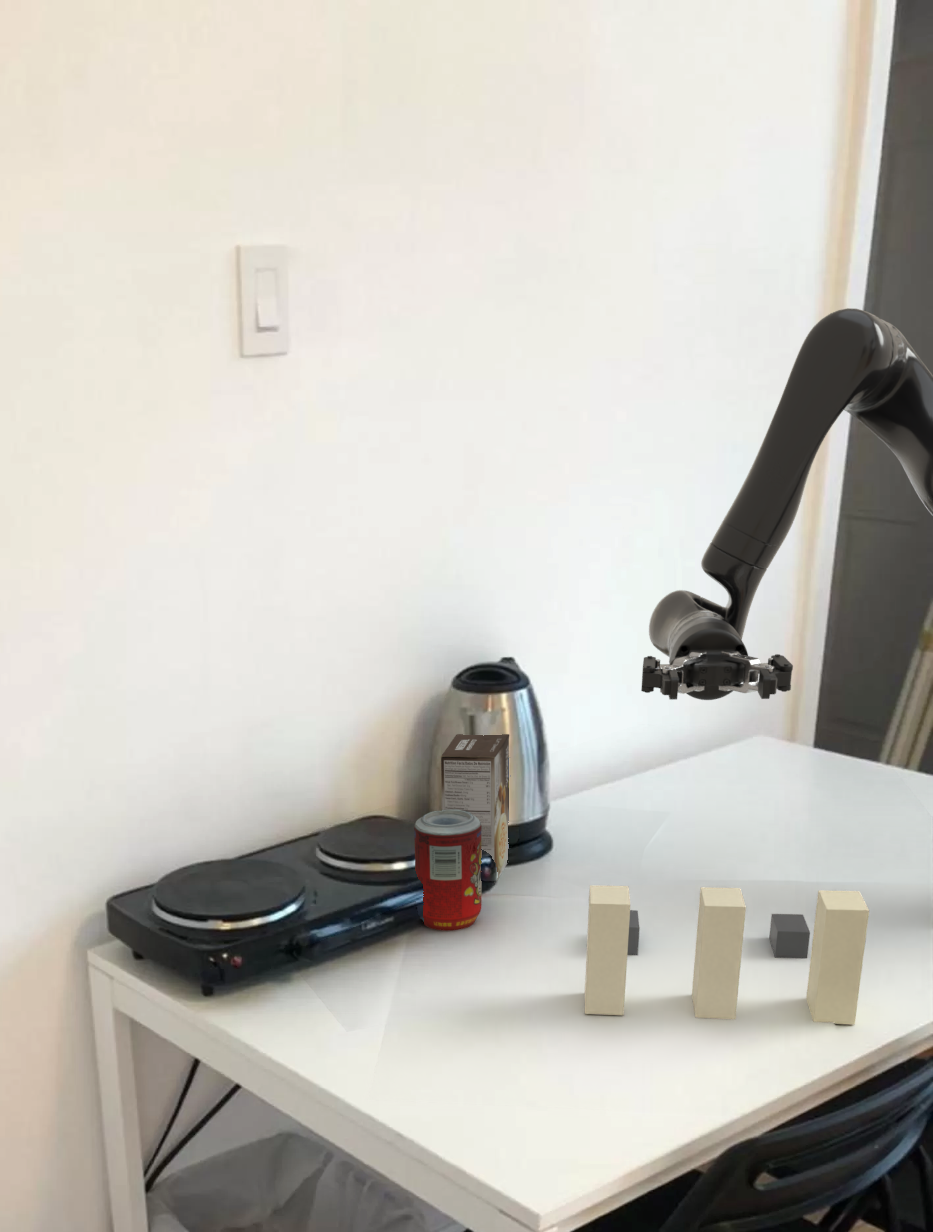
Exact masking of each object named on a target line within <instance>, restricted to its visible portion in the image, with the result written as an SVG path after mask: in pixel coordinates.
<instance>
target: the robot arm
mask: <svg viewBox="0 0 933 1232" xmlns="http://www.w3.org/2000/svg"><path fill="white" fill-rule="evenodd" d="M781 394H782V395H781V397H780V400H779V401H778V404H777V407H776V409H775V411H774V414H773V417H772V419H771V421H770V423H769V426H768V429H767V431H766V433H765V436H764V438H763V440H762V443H761V444H760V445H761V446H760V447H759V450H758V452H757V454H756V456H755V459H754V461H753V463H752V465H751V467H750V469H749V471H748V473H747V475H746V477H745V479H744V481H743V483H742V485H741V487H740V489H739V490H738V493H737V495H736V496H735V499H734V500H733V502H732V503H731V506H730V507H729V509H728V511H727V512H726V515H725V516H724V518H723V519H722V521H721V523H720V525H719V527H718V529H717V530H716V531H715V533H714V535H713V537H712V539H711V542H710V543H709V545H708V546H707V547H706V550H705V552H704V553H703V556H702V558H701V561H700V566H701V569H702V571H703V572H704V573H705V574H706V575H707V576H708V577H710V578H711V579H712V580H714V581H715V582H716V583H717V584H719V585H720V586H721V587H722V588H723V589H724V590H725V591H726V593H727V595H728V600H727V603H726V606H723V605H720V604H718V603H716V602H714V601H712V600H710V599H707V598H706V597H703V596H701V595H699V594H696V593H694V592H692V591H689V590H685V589H677V590H674V591H671V592H669V593H667V594H666V595H664V597H662V598H661V599H660V600H659V601H658V603H657V604H656V605H655V607H654V609H653V611H652V613H651V616H650V619H649V623H648V636H649V640H650V642H651V644H652V646H654V648H655V649H657V651H659V652H661V654H663V655H665V656H666V657H667V658H669V659H668V663H669V664H668V663H661V659H657V657H656V656H653V655H647V656H645V657H643V662H642V673H641V690H640V691H641V692H642V693H646V694H649V693H651V692H654V691H655V688H656V689H660V690H659V693H661V695H663V696H668V699H669V700H671V701H672V700H678V696H679V695H678V694H681V695H685V694H686V695H688V696H689V697H692V698H694V699H697V700H702V701H713V700H719V699H721V698H724V697H727V696H728V695H730V694H731V693H733V692H737V693H742V694H748V693H750V694H751V693H755V692H757V693H758V695H759V697H760V699H761V700H770V697H771V695H776V694H777V691H779V692H784V693H786V692H789V691H791V690H792V685H791V683H792V674H793V670H794V669H793V668H794V665H793V663H791V662H790V661H789V659H787V658H786V656H784V655H781V654H780V653H779V654H778V653H775V654H774V655H771V656H770V657H768V659H767V662H761V661H760V658H758V657H754V656H750V655H749V652H748V650H747V647H746V645H745V644H744V642H743V637H744V632H745V629H746V626H747V625H746V624H747V620H748V617H749V613H750V610H751V607H752V603H753V600H754V598H755V595H756V592H757V591H758V588H759V585H760V584H761V581H762V579H763V578H764V576H765V574H766V572H767V571H768V568H770V565H771V563H772V562H773V560H774V558H775V557H776V554H777V553H778V551H779V549H780V548H781V546H782V545H783V543H784V541H785V540H786V538H787V536H788V535H789V532H790V530H791V528H792V526H793V524H794V521H795V519H796V517H797V513H798V511H799V508H800V505H801V502H802V498H803V495H804V492H805V491H804V490H805V487H806V483H807V481H808V477H809V474H810V471H811V469H812V466H813V464H814V461H815V459H816V456H817V453H818V452H819V449H820V447H821V445H822V444H823V442H824V441H825V438H826V437H827V435H828V433H829V432H830V430H831V429H832V427H833V425H834V424H835V423H836V421H837V420H838V418H839V417H840V416H841V414H842V413H843V412H846V413H848V414H849V415H850V416H852V417H853V418H855V419H856V420H858V421H859V422H860V423H861V424H862V425H864V426H865V427H866V428H867V429H868V430H870V431H871V432H872V434H874V435H875V436H876V437H877V438H878V439H879V440H881V441H882V443H884V444H885V445H886V447H888V449H890V450H891V452H892V453H893V454H894V455H895V456H896V458H897V459H898V461H899V463H900V465H901V466H902V468H903V470H904V472H905V474H906V476H907V478H908V481H909V482H910V484H911V486H912V487H913V489H914V491H915V493H916V494H917V496H918V498H919V500H920V501H921V503H922V504H923V506H924V507H925V508H926V509H927V511H928V512H929V513H930V515H931V516H932V517H933V373H932V372H931V371H930V370H929V369H928V367H927V365H926V364H925V363H924V362H923V361H922V359H921V357H920V356H919V355H918V354H917V352H916V351H915V349H914V348H913V347H912V345H911V344H910V342H909V341H908V340H907V339H906V336H904V334H903V333H902V332H901V331H900V329H898V328H897V327H896V326H894V325H893V324H892V323H891V322H888V321H886V320H884V319H882V318H880V317H878V316H877V315H875V314H873V313H870V312H869V311H867V310H863V309H860V308H848V307H847V308H843V309H842V308H841V309H837V310H835V311H833V312H830V313H828V314H827V315H826V316H823V318H821V319H820V320H819V321H818V322H817V323H815V325H814V326H813V327H812V328H811V329H810V331H808V334H807V336H806V337H805V338H804V341H803V342H802V344H801V346H800V349H799V351H798V353H797V355H796V358H795V360H794V362H793V364H792V368H791V369H790V372H789V376H788V378H787V381H786V383H785V387H784V389H783V391H782V393H781Z"/></svg>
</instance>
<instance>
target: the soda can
mask: <svg viewBox="0 0 933 1232" xmlns="http://www.w3.org/2000/svg"><path fill="white" fill-rule="evenodd" d="M481 830H482V826H481V822H480V820H479V819H478V818H477V817H475V816H474V815H472V814H471V813H470V812H466V811H461V810H456V809H450V810H442V809H441V810H433V811H430V812H428V813H425V814H424V815H422V816H421V817H419V818H418V819H417V820H416V821H415V823H414V826H413V833H414V834H413V835H414V837H413V838H414V872H415V871H416V874H417V877H418V879H419V880H420V881H421V883H422V884H423V889H424V890H423V891H424V892H423V894H424V895H423V896H424V897H423V902H424V903H423V904H424V905H423V918H424V924H423V925H424V926H425V927H427V928H428V929H432V930H435V931H442V932H443V931H444V932H450V931H452V932H453V931H461V930H463V929H464V930H465V929H467V928H469V927H471V926H473V925H474V924H475V922H476V920H477V918H478V917H479V915H480V914H481V911H482V905H483V904H482V903H483V902H482V881H481V872H482V871H481V864H482V861H481V858H482V850H481V842H482V834H481Z"/></svg>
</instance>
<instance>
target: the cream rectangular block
mask: <svg viewBox="0 0 933 1232" xmlns="http://www.w3.org/2000/svg"><path fill="white" fill-rule="evenodd" d="M588 894H589V895H588V913H587V931H586V932H587V935H586V937H587V938H586V955H585V974H584V1014H585V1015H601V1016H602V1015H605V1016H625V1000H626V999H625V997H626V985H627V984H626V983H627V982H626V981H627V966H628V955H627V952H628V935H629V919H630V910H631V897H630V896H631V895H630V888H629V885H595V884H594V885H589V893H588Z"/></svg>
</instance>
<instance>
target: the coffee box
mask: <svg viewBox="0 0 933 1232" xmlns="http://www.w3.org/2000/svg"><path fill="white" fill-rule="evenodd" d="M463 734H464V733H457V734H455V735H454V737H453V739H451V741H450V743H449V744H448V745H447V747H446V749H445V750H444V752H443V753H442V754H441V756H440V780H441V781H440V782H441V783H440V785H441V786H440V787H441V811H442V810H450V809H456V810H461V811H466V812H470V813H471V814H472V815H474V816H475V817H477V818H478V819H479V820H480V822H481V826H482V830H481V834H482V842H481V849H482V850H484V851H486V852H487V853H489V854H490V855H491V856H492V859H493V860H494V862H495V863H496V867H497V872H498V878H497V880H496V882H497V881H498V880H499V878H500V877H501V875H502V874H503V872H504V870H505V868H506V866H507V865H508V863H507V860H508V849H509V850H510V848H509V844H508V843H509V842H508V839H509V838H508V823H509V822H508V821H509V758H510V733H501V734H502V735H484V736H483V735H463Z"/></svg>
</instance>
